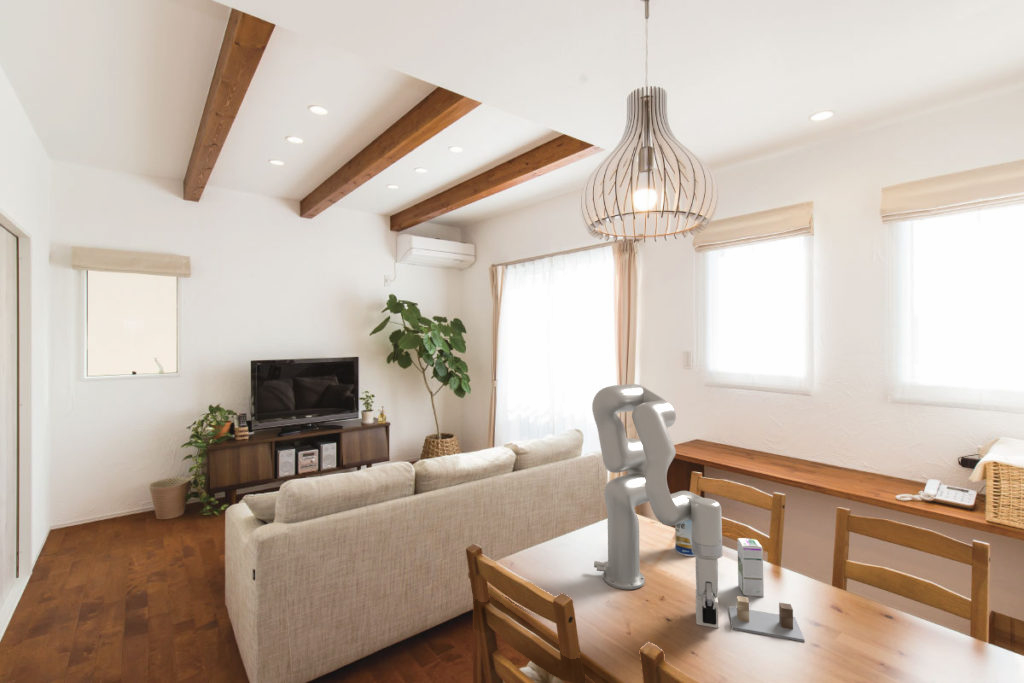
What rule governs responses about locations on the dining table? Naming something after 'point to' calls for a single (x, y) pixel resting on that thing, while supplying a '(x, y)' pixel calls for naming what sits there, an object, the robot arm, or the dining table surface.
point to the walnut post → (786, 615)
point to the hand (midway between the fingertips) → (708, 612)
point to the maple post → (743, 608)
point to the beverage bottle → (683, 538)
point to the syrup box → (750, 567)
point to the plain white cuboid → (699, 611)
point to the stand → (765, 625)
